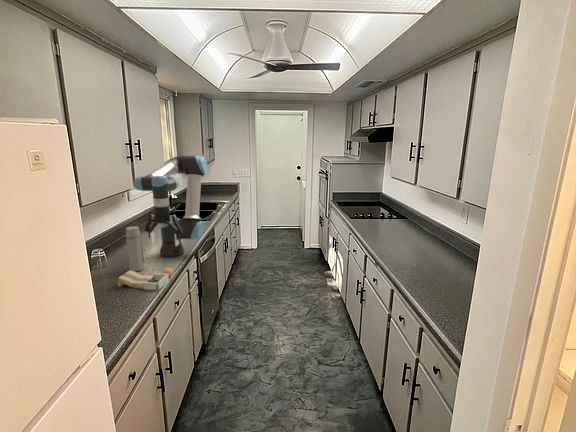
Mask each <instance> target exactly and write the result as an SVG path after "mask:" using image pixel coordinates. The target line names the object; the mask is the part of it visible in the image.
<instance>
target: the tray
mask: <svg viewBox="0 0 576 432" xmlns="http://www.w3.org/2000/svg"><path fill="white" fill-rule="evenodd" d="M153 276H154V277H155V280H154V281H157V282H143V288H142V289H143V290H148V291H150V290H151V291H159V290H161V288H162V287H164V286H165V285H166V284H167V283H168V282H169V281H170V276H169V274H163V273H158V272H157V273H156V272H155V273H154V274H153Z"/></svg>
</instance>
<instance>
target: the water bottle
mask: <svg viewBox="0 0 576 432" xmlns="http://www.w3.org/2000/svg"><path fill="white" fill-rule="evenodd" d="M125 238H126V245H127V254H128V262H129V265H128V266H129V270H132V271H134V272H137V273H138V272H141V271H142V270H143V269H144V262H147V261H146V260H147V259H144V257H143V256H144V255H145V257H147V254H146V250H145V246H144V244H142V243H144V241H143V235H142V234H141V231H140V227H139V226H137V225H136V226H128V227H126V228H125Z"/></svg>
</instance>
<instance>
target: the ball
mask: <svg viewBox="0 0 576 432" xmlns="http://www.w3.org/2000/svg"><path fill="white" fill-rule="evenodd" d="M161 274H169V277H171V276H172V274H173V270H172V268H170V267H165V268H164V269H162V273H161Z"/></svg>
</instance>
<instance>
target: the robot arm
mask: <svg viewBox="0 0 576 432" xmlns="http://www.w3.org/2000/svg"><path fill="white" fill-rule="evenodd" d="M207 173H208V162H207V160H206V158H205V157H204V156H202V155H177V156H175V157H171V158H170V159H167V160H166V161H165V162H164V163H163V165H160V167H158V168H156V169H155V170H153V171H151V172H150V173H148V174H147V175H144V176H137V177H135V179H134V182H133V186H134V189H135V190H137V191H140V192H141V191H142V192H152V199H153V209H154V210H153V211H154V212H153V213H154V214H153V213H151V214H149V215H148V221H147V223H146V224H145V228H144V232H147V234H148V238H149V240H150V245H151V246H153V245H155V244H156V243H155V242H156V241H155V232H154V230H155V228H156V227H157V226H158V224H160V231H161V233H160V235H161V245H160V246H161V247H160V250H159V255H160V256H161V257H164V258H176V257H179V256H182V255H184V254H185V247H184V245H183V243H182V240H193V241H194V240H200V239H201V238H202V237H203V234H204V231H205V223H204V221H202V218H201V217H200V206H201V189H202V179H204V177H205V175H207ZM176 174H184V175H185V177H186V178H187V181H186V182H187V183H186V195H185V196H186V197H185V214H184V215H183V216H182V220H180V218H179V217H177V215H176V214H173V215H171V210H170V209H171V208H170V197H169V193H171V192H173V191H175V190H177V189H178V187H179V186H180V185H179V180H178V179H177V178H176V177H174V175H176ZM154 219H155V221H154ZM153 221H154V223H153Z"/></svg>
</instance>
